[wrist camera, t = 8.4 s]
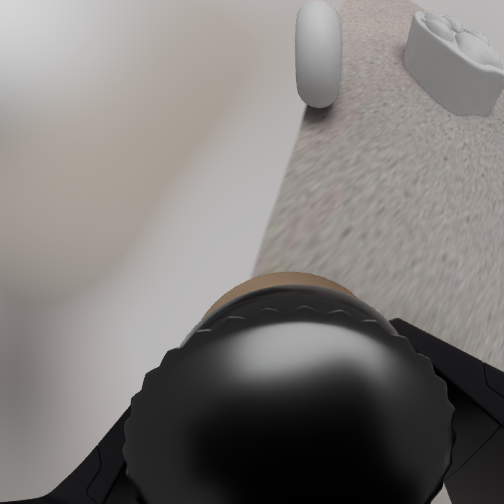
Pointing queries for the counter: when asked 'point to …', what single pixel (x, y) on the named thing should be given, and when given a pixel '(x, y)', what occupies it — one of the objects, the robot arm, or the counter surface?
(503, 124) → the counter surface
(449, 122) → the counter surface
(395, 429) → the supplement bottle
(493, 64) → the lumpy-topped squat cylinder
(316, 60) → the donut
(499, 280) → the counter surface
